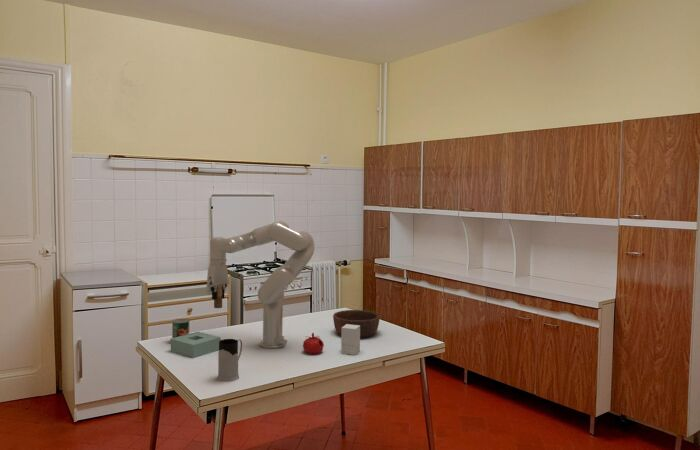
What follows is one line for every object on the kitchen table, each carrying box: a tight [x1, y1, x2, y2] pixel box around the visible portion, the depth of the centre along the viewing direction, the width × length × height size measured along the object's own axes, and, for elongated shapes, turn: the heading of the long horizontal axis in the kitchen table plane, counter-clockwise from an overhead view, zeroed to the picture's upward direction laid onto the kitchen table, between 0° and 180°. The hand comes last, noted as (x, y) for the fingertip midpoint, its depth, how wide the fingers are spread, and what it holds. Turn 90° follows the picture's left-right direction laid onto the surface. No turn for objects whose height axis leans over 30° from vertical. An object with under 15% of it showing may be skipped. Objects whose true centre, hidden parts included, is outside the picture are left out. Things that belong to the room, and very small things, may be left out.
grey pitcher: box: [216, 338, 243, 383], centre depth 218 cm, size 9×14×15 cm, turn 159°
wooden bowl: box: [332, 309, 381, 339], centre depth 286 cm, size 25×25×10 cm
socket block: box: [170, 331, 221, 359], centre depth 251 cm, size 16×16×6 cm
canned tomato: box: [171, 318, 190, 338], centre depth 263 cm, size 8×8×11 cm
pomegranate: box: [302, 332, 325, 355], centre depth 252 cm, size 10×10×9 cm
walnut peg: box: [213, 284, 223, 309], centre depth 266 cm, size 4×4×12 cm
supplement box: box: [340, 324, 361, 356], centre depth 253 cm, size 7×7×13 cm
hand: (218, 298), depth 266 cm, fingers closed on walnut peg, 4 cm apart
